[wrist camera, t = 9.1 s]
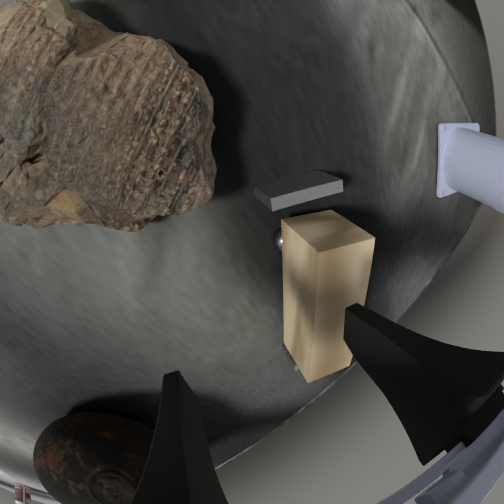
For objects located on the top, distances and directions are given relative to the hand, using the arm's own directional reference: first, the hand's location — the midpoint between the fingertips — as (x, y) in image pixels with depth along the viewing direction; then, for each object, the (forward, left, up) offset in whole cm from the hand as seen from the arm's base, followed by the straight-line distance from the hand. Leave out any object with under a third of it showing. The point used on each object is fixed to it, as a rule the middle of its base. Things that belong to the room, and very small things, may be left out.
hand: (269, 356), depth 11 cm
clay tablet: (+7, -11, -11) cm, 17 cm away
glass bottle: (+20, +19, -11) cm, 30 cm away
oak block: (-6, +5, -9) cm, 12 cm away
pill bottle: (+71, +48, -11) cm, 86 cm away
